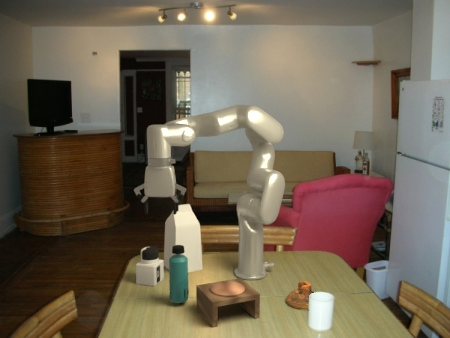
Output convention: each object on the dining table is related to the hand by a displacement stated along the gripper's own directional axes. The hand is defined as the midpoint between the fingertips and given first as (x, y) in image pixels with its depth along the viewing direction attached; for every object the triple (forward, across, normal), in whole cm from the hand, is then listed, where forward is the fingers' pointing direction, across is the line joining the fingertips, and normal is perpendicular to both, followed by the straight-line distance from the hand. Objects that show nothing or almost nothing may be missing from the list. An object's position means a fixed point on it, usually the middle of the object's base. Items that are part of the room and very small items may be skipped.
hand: (160, 213), depth 159 cm
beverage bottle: (+30, -6, +3) cm, 31 cm away
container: (+31, +7, -15) cm, 35 cm away
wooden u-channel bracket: (+30, -22, +10) cm, 39 cm away
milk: (+31, -3, -30) cm, 43 cm away
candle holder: (+31, -48, +1) cm, 57 cm away
